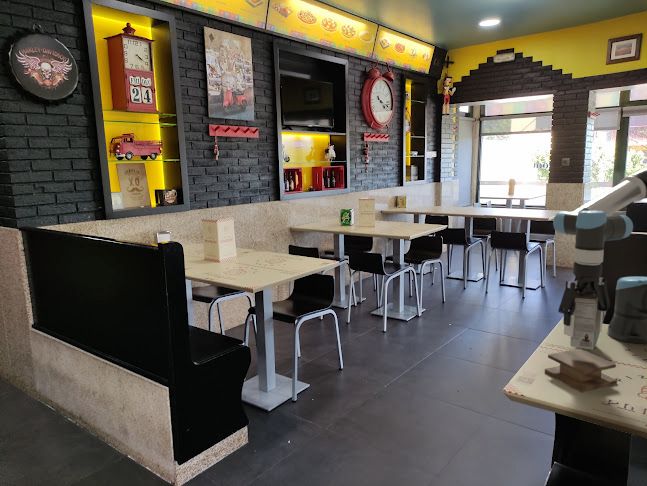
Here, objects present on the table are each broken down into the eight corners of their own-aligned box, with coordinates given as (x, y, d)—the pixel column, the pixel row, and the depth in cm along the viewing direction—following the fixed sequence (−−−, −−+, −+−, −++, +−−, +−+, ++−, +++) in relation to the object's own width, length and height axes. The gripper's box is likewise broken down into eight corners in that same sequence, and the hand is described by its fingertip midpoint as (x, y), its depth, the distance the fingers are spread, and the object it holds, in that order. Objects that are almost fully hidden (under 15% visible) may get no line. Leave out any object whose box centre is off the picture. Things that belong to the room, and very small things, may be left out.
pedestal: (578, 365, 152) (579, 347, 151) (616, 383, 139) (618, 364, 138) (544, 372, 148) (545, 354, 147) (581, 392, 135) (582, 372, 134)
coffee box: (570, 336, 147) (573, 288, 144) (593, 339, 144) (597, 290, 141) (569, 346, 139) (573, 295, 136) (594, 350, 136) (598, 298, 133)
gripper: (605, 257, 144) (600, 323, 148) (547, 263, 137) (543, 333, 141) (628, 261, 137) (622, 331, 141) (568, 268, 130) (563, 342, 134)
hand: (582, 332), depth 141 cm, fingers closed on coffee box, 11 cm apart
